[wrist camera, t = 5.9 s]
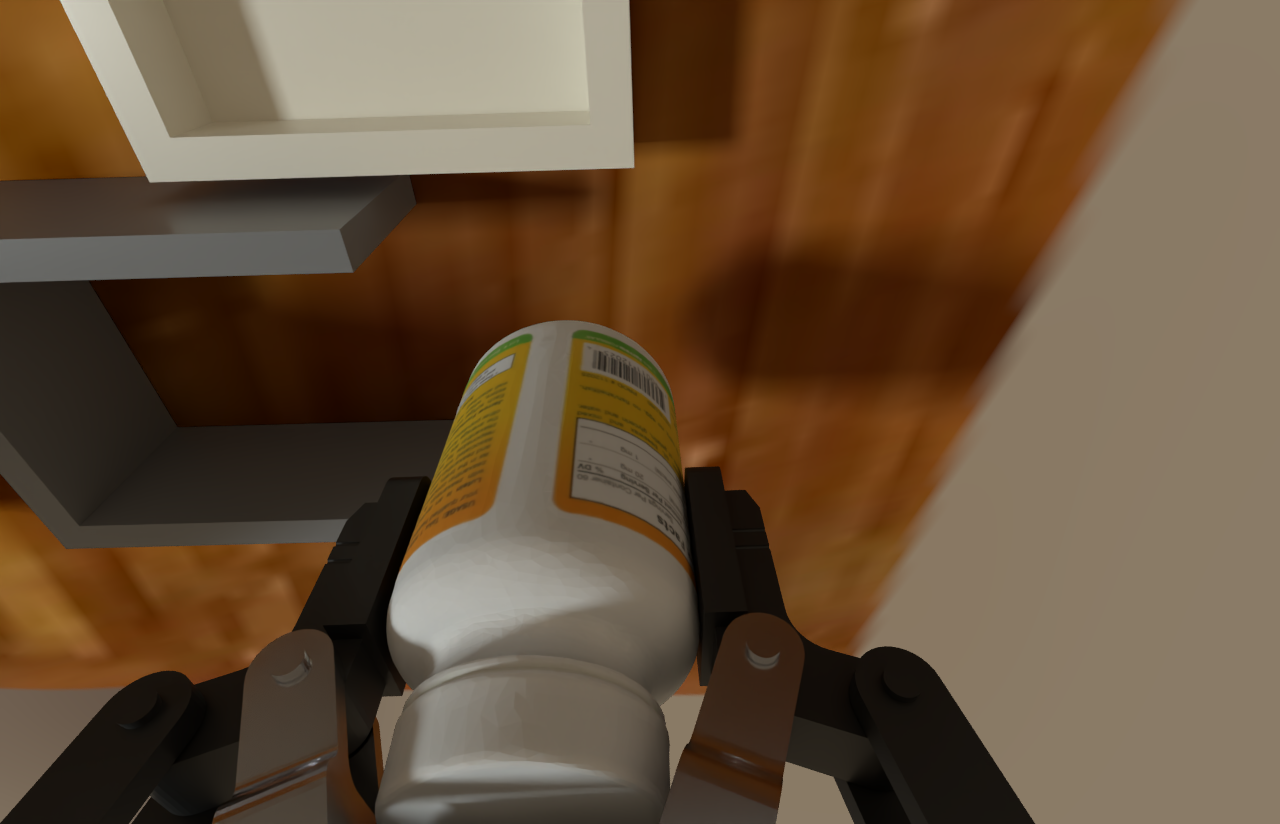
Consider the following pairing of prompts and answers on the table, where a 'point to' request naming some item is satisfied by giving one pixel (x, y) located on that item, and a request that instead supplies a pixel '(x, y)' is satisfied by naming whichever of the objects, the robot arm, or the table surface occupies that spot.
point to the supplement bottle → (545, 594)
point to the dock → (122, 394)
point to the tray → (363, 85)
